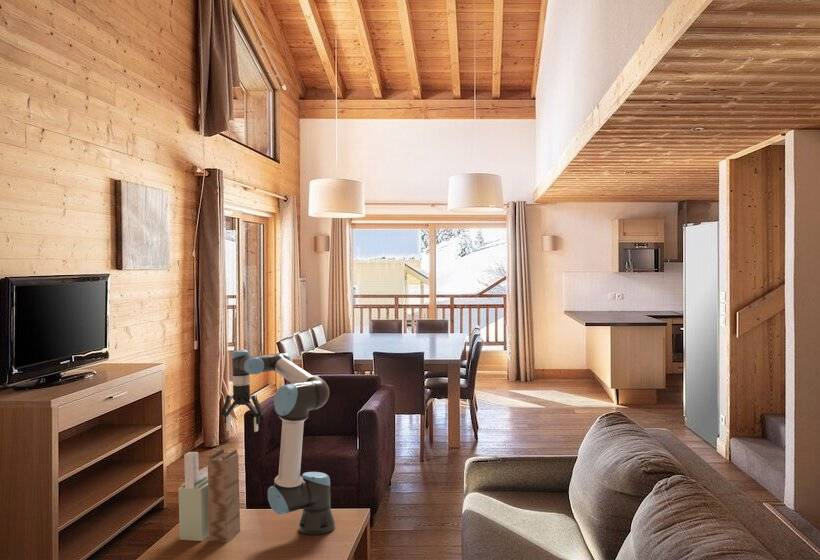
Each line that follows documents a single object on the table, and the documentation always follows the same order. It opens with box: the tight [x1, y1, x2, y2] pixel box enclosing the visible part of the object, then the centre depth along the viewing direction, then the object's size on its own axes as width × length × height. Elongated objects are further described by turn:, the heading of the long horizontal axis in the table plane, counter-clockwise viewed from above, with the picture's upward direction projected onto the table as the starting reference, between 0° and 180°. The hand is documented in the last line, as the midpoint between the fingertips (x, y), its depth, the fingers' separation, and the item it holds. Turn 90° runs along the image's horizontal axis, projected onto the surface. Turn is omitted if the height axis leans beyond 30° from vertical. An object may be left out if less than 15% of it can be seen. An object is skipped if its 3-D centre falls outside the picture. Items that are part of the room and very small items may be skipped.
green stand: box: [178, 478, 209, 542], centre depth 270 cm, size 10×12×22 cm
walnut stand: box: [207, 448, 241, 543], centre depth 267 cm, size 8×11×34 cm
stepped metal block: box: [183, 451, 208, 489], centre depth 274 cm, size 20×4×14 cm, turn 168°
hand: (242, 430), depth 296 cm, fingers open, 13 cm apart
